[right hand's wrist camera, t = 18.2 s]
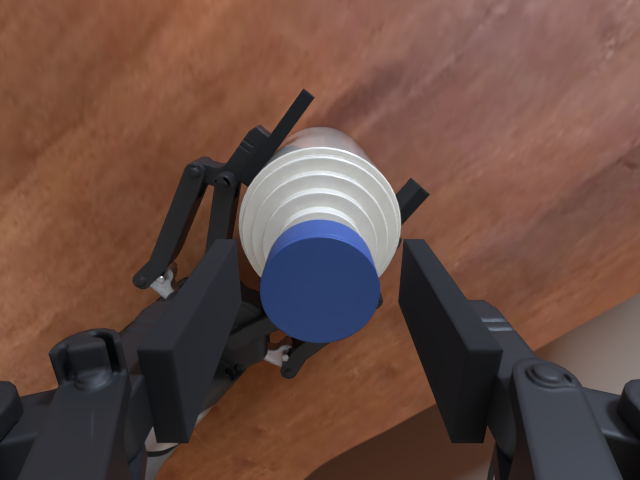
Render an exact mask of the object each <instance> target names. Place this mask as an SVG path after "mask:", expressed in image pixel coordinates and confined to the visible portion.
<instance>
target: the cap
mask: <svg viewBox="0 0 640 480" xmlns="http://www.w3.org/2000/svg"><path fill="white" fill-rule="evenodd" d="M379 297H380V282H379V277H378V274H377V271H376V268H375V265H374V261H373V258H372V255H371V253H370V250H369V248H368V246H367V244H366V243H365V241H364V240H363V239H362V237H361V236H360V235H359V234H358V233H356V232H355V231H354V230H352V229H351V228H349V227H348V226H346V225H344V224H341V223H339V222H335V221H331V220H320V219H317V220H309V221H305V222H301V223H299V224H296V225H294V226H292V227H290V228H289V229H287V230H286V231H284V232H283V233H282V234H281V235H280V236H279V237H278V238H277V240H276V241H275V242H274V244H273V245H272V247H271V249H270V252H269V254H268V257H267V260H266V264H265V267H264V270H263V273H262V276H261V280H260V299H261V303H262V306H263V309H264V311H265V313H266V314H267V316H268V317H269V319H270V320H271V321H272V323H273V324H274V325H275V326H276V327H277V328H279V329H280V330H281V331H283V332H284V333H286V334H287V335H289V336H291V337H293V338H296V339H299V340H302V341H306V342H312V343H328V342H334V341H338V340H341V339H344V338H346V337H349V336H351V335H352V334H354V333H356V332H357V331H359V330H360V329H361V328H362V327H363V326H364V325H365V324H366V323H367V322H368V321H369V320H370V318H371V317H372V315H373V314H374V312H375V310H376V308H377V305H378V302H379Z"/></svg>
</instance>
